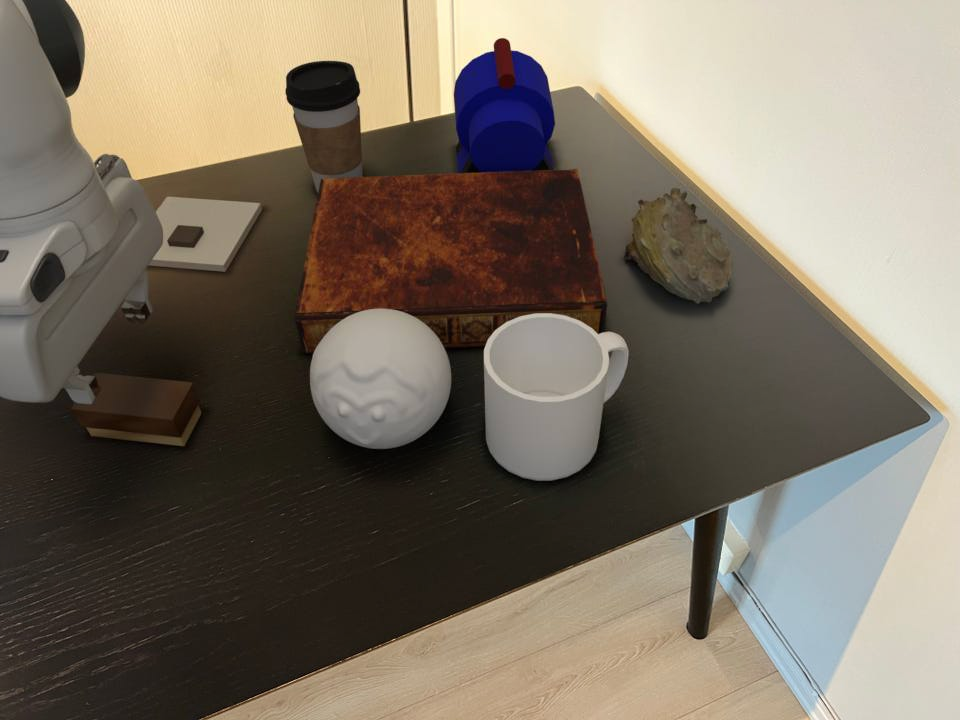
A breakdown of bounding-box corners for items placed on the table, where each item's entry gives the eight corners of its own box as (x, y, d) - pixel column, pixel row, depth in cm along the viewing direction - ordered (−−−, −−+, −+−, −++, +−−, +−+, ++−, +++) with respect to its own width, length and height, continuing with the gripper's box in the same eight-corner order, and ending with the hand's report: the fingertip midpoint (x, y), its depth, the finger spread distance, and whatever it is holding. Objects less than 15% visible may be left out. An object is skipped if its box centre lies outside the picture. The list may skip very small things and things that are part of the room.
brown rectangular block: (87, 437, 72) (70, 408, 69) (110, 401, 75) (94, 372, 72) (185, 448, 71) (172, 419, 68) (205, 411, 74) (192, 382, 71)
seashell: (656, 334, 81) (679, 263, 73) (597, 242, 90) (611, 169, 82) (749, 310, 84) (781, 239, 76) (683, 223, 92) (705, 150, 85)
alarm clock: (546, 139, 106) (551, 27, 96) (558, 190, 98) (565, 74, 87) (455, 143, 106) (450, 32, 95) (459, 196, 97) (454, 79, 87)
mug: (513, 498, 66) (514, 418, 59) (468, 414, 73) (464, 333, 65) (644, 450, 69) (661, 368, 62) (590, 374, 76) (599, 292, 69)
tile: (124, 263, 89) (121, 256, 89) (169, 203, 98) (167, 196, 97) (225, 272, 88) (223, 265, 87) (262, 209, 96) (260, 202, 96)
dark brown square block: (168, 246, 90) (166, 240, 89) (179, 230, 92) (177, 224, 91) (193, 248, 90) (191, 242, 89) (204, 232, 92) (202, 226, 91)
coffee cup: (355, 210, 96) (337, 93, 85) (293, 199, 98) (267, 83, 87) (384, 174, 101) (369, 60, 90) (324, 163, 103) (303, 51, 93)
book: (303, 355, 78) (293, 318, 75) (327, 213, 95) (321, 177, 92) (602, 343, 79) (607, 305, 75) (574, 204, 96) (577, 168, 92)
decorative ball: (304, 468, 69) (276, 373, 60) (344, 369, 77) (324, 273, 68) (439, 485, 67) (429, 390, 59) (465, 383, 75) (460, 286, 67)
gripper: (78, 140, 64) (136, 274, 74) (-85, 307, 50) (14, 445, 60) (151, 144, 63) (200, 278, 73) (7, 315, 49) (92, 454, 59)
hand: (116, 355), depth 66 cm, fingers open, 8 cm apart
